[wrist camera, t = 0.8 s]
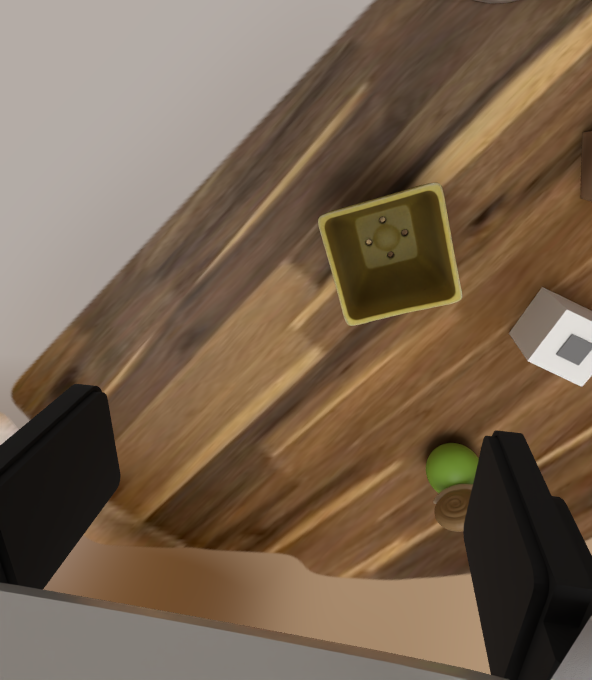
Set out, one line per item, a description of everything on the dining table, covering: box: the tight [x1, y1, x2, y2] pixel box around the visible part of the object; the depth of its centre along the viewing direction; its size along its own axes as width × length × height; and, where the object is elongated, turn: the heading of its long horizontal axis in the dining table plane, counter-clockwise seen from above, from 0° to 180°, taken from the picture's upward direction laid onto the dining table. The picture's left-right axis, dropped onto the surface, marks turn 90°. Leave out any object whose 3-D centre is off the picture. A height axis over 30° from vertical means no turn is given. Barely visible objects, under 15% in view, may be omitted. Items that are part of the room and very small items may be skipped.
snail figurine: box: [426, 443, 479, 532], centre depth 44 cm, size 5×6×12 cm
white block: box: [509, 287, 592, 387], centre depth 40 cm, size 5×5×6 cm
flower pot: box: [318, 183, 462, 326], centre depth 38 cm, size 9×9×9 cm
